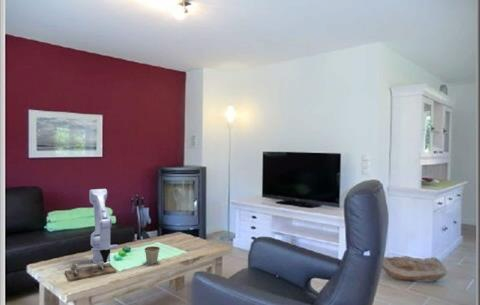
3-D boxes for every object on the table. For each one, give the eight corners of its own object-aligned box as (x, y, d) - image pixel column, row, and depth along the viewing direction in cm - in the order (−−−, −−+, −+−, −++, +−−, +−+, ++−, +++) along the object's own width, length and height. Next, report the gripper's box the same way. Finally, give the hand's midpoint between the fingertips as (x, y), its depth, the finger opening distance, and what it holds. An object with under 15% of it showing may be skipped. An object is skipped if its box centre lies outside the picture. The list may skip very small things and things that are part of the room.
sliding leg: (101, 264, 204) (101, 259, 204) (105, 269, 197) (105, 263, 197) (96, 265, 202) (96, 260, 202) (100, 270, 195) (100, 264, 195)
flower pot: (158, 259, 221) (158, 245, 220) (160, 264, 212) (161, 250, 212) (143, 260, 217) (143, 246, 217) (144, 265, 208) (145, 251, 208)
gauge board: (109, 264, 209) (109, 255, 208) (116, 272, 197) (116, 262, 197) (64, 273, 195) (64, 263, 195) (69, 281, 183) (69, 271, 183)
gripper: (93, 242, 195) (93, 266, 196) (119, 239, 204) (119, 262, 204) (90, 239, 201) (90, 263, 201) (116, 236, 209) (115, 258, 210)
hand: (104, 262), depth 203 cm, fingers closed
